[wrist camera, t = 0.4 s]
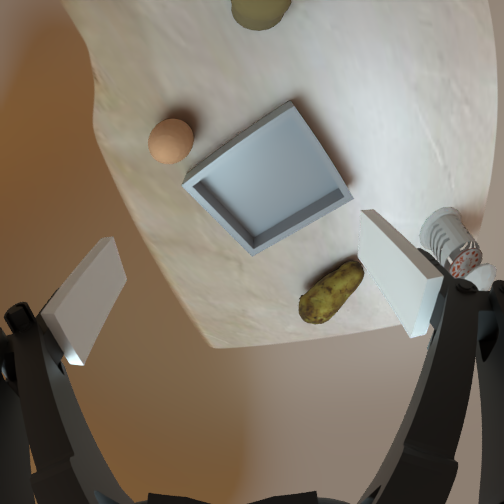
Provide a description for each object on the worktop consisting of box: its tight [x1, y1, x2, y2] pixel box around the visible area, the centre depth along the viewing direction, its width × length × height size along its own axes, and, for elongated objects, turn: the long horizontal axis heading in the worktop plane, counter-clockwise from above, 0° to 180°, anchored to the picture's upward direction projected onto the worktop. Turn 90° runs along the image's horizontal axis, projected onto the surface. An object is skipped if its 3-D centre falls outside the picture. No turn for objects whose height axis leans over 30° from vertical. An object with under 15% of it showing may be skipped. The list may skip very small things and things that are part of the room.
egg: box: [148, 119, 194, 164], centre depth 32 cm, size 5×5×7 cm
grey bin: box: [182, 101, 354, 256], centre depth 38 cm, size 17×15×4 cm
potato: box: [299, 261, 364, 324], centre depth 49 cm, size 8×13×8 cm, turn 114°
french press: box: [419, 207, 496, 291], centre depth 36 cm, size 10×12×25 cm
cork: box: [231, 0, 291, 31], centre depth 20 cm, size 6×6×11 cm
